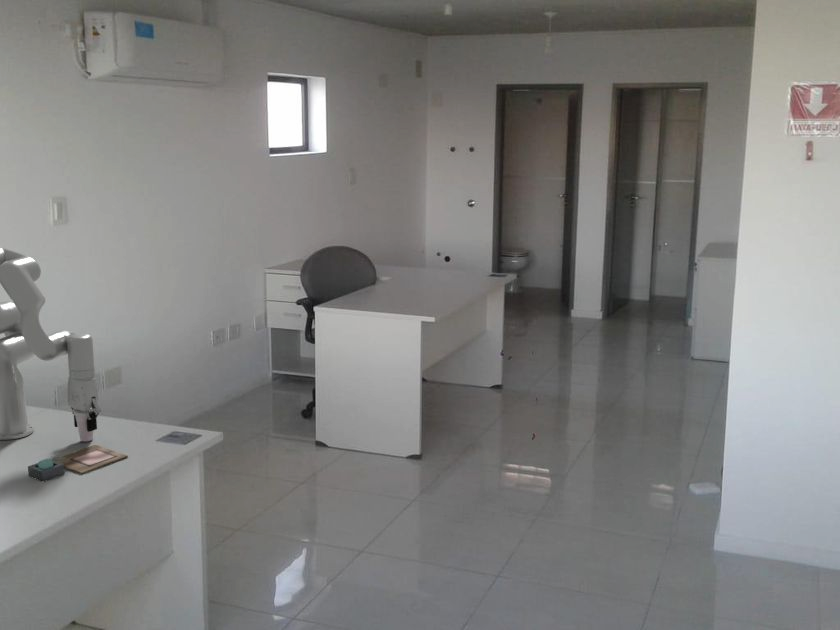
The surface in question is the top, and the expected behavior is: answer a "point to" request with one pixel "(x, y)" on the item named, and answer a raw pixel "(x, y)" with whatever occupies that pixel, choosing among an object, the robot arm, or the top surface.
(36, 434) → the top surface
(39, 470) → the button housing
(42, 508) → the top surface
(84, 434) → the smoothie
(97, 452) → the picture board
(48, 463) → the button
